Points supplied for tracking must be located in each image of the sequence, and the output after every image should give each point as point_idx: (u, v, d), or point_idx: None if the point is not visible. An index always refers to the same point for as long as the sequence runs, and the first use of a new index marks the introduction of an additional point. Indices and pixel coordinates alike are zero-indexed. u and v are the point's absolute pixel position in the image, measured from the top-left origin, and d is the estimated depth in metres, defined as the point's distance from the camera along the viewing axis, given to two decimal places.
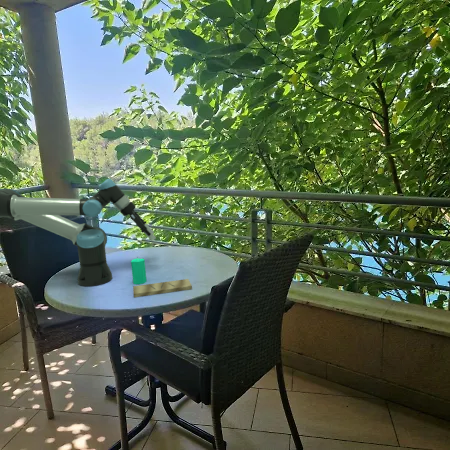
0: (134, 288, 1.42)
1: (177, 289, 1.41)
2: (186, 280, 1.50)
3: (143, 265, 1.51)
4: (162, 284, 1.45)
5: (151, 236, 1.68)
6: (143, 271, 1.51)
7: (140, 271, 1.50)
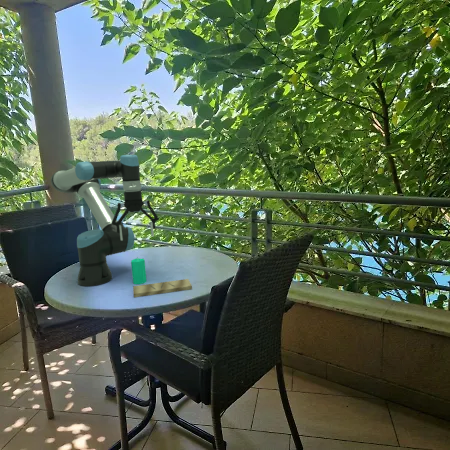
0: (134, 288, 1.42)
1: (177, 289, 1.41)
2: (186, 280, 1.50)
3: (143, 265, 1.51)
4: (162, 284, 1.45)
5: (120, 235, 1.48)
6: (143, 271, 1.51)
7: (140, 271, 1.50)
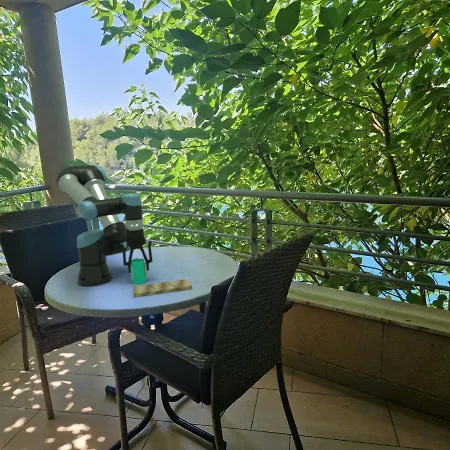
0: (134, 288, 1.42)
1: (177, 289, 1.41)
2: (186, 280, 1.50)
3: (142, 265, 1.51)
4: (162, 284, 1.45)
5: (131, 274, 1.52)
6: (143, 271, 1.51)
7: (139, 271, 1.50)
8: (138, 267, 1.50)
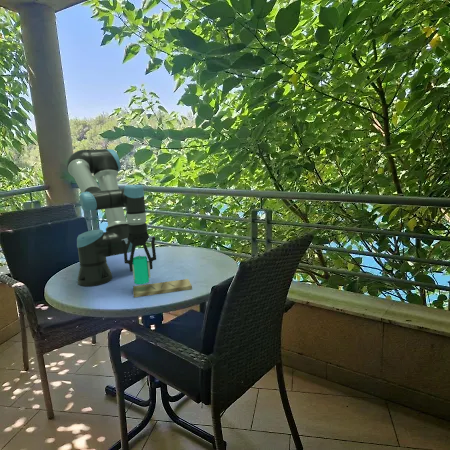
0: (134, 288, 1.42)
1: (177, 289, 1.41)
2: (186, 280, 1.50)
3: (145, 263, 1.38)
4: (162, 284, 1.45)
5: (133, 273, 1.39)
6: (145, 270, 1.38)
7: (142, 270, 1.37)
8: (140, 265, 1.37)
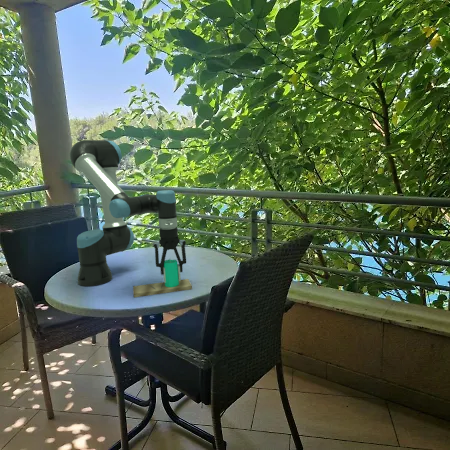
0: (134, 288, 1.42)
1: (177, 289, 1.41)
2: (186, 280, 1.50)
3: (176, 267, 1.42)
4: (162, 284, 1.45)
5: None
6: (176, 273, 1.42)
7: (173, 273, 1.41)
8: (172, 269, 1.40)
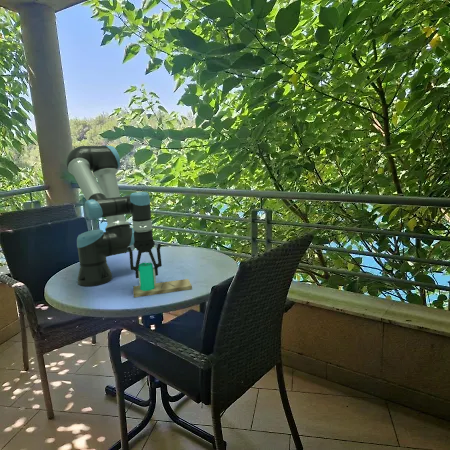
0: (134, 288, 1.42)
1: (177, 289, 1.41)
2: (186, 280, 1.50)
3: (151, 270, 1.40)
4: (162, 284, 1.45)
5: (139, 280, 1.40)
6: (152, 276, 1.40)
7: (148, 276, 1.38)
8: (147, 272, 1.38)
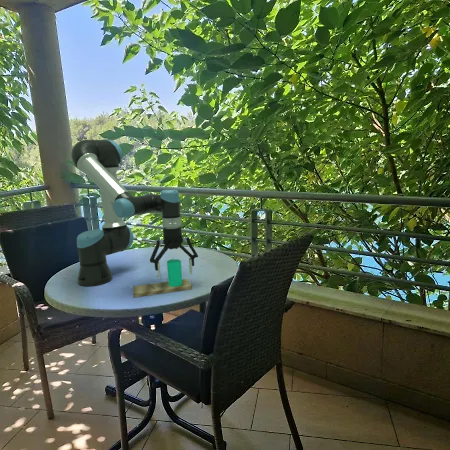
0: (134, 288, 1.42)
1: (177, 289, 1.41)
2: (186, 280, 1.50)
3: (180, 266, 1.43)
4: (162, 284, 1.45)
5: (158, 272, 1.42)
6: (180, 272, 1.43)
7: (177, 272, 1.42)
8: (176, 268, 1.41)
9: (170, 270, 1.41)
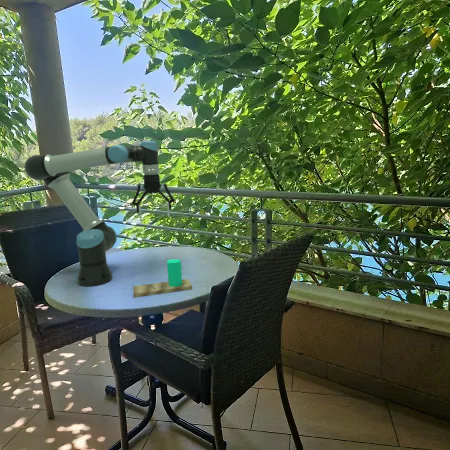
0: (134, 288, 1.42)
1: (177, 289, 1.41)
2: (186, 280, 1.50)
3: (180, 266, 1.43)
4: (162, 284, 1.45)
5: (139, 214, 1.63)
6: (180, 272, 1.43)
7: (177, 272, 1.42)
8: (176, 268, 1.41)
9: (170, 270, 1.41)
